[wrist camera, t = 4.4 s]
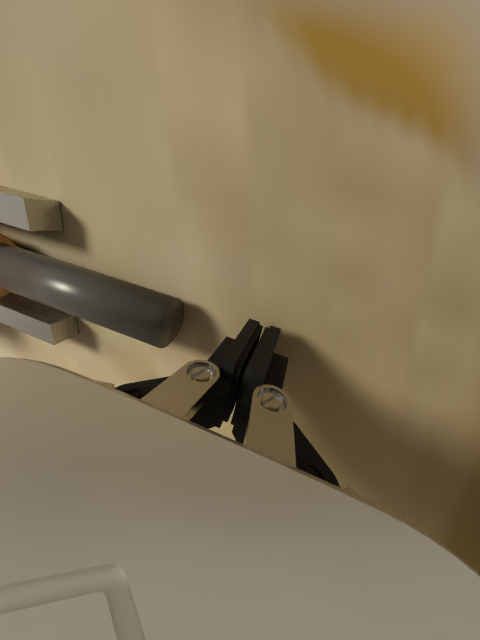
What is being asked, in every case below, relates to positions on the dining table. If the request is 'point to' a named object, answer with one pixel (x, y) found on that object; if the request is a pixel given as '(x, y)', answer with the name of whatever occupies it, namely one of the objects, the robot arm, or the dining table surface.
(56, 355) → the dining table surface
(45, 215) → the tunnel block
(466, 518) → the dining table surface
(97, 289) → the grey and orange rod
